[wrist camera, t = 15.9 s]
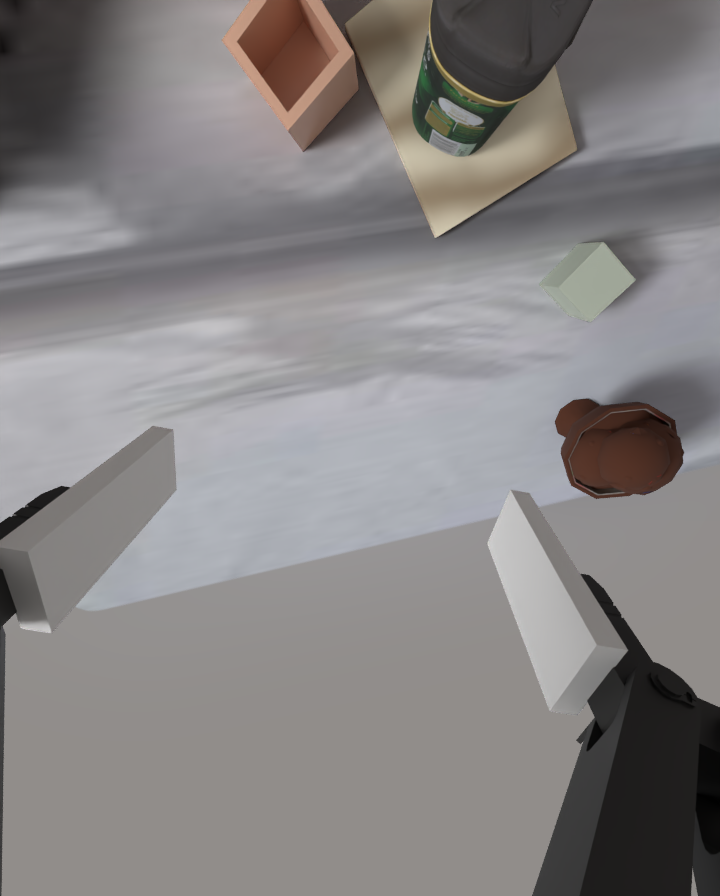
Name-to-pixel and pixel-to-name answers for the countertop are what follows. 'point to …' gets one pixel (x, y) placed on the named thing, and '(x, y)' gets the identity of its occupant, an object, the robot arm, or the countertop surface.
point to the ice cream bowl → (618, 448)
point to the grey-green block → (587, 280)
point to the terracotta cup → (295, 62)
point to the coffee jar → (486, 64)
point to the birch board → (430, 170)
